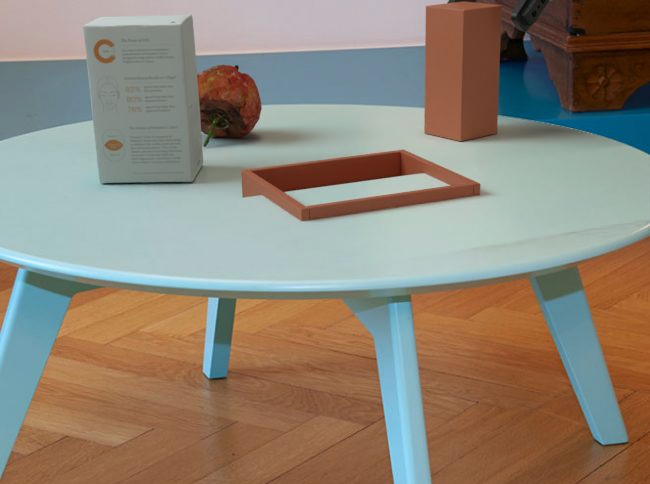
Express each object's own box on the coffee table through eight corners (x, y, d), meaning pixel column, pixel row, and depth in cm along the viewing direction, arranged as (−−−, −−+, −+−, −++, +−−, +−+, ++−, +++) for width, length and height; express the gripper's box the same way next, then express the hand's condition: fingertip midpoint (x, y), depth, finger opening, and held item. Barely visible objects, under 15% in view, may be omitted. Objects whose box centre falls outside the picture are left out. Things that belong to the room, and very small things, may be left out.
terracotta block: (460, 125, 113) (463, 1, 108) (497, 133, 109) (502, 5, 105) (423, 133, 110) (425, 5, 106) (460, 141, 106) (463, 10, 102)
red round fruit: (251, 170, 107) (291, 91, 111) (212, 117, 102) (255, 37, 106) (191, 169, 111) (231, 93, 115) (150, 119, 106) (195, 41, 110)
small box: (204, 164, 100) (194, 13, 95) (193, 183, 94) (182, 22, 90) (113, 165, 101) (99, 14, 96) (97, 184, 95) (81, 24, 90)
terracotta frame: (403, 180, 94) (403, 149, 93) (479, 217, 84) (480, 183, 83) (242, 202, 89) (240, 169, 88) (302, 245, 78) (301, 209, 78)
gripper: (498, -140, 112) (412, -11, 110) (615, -143, 102) (522, 0, 100) (532, -86, 117) (450, 39, 115) (646, -83, 107) (559, 54, 105)
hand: (484, 21), depth 107 cm, fingers open, 8 cm apart
